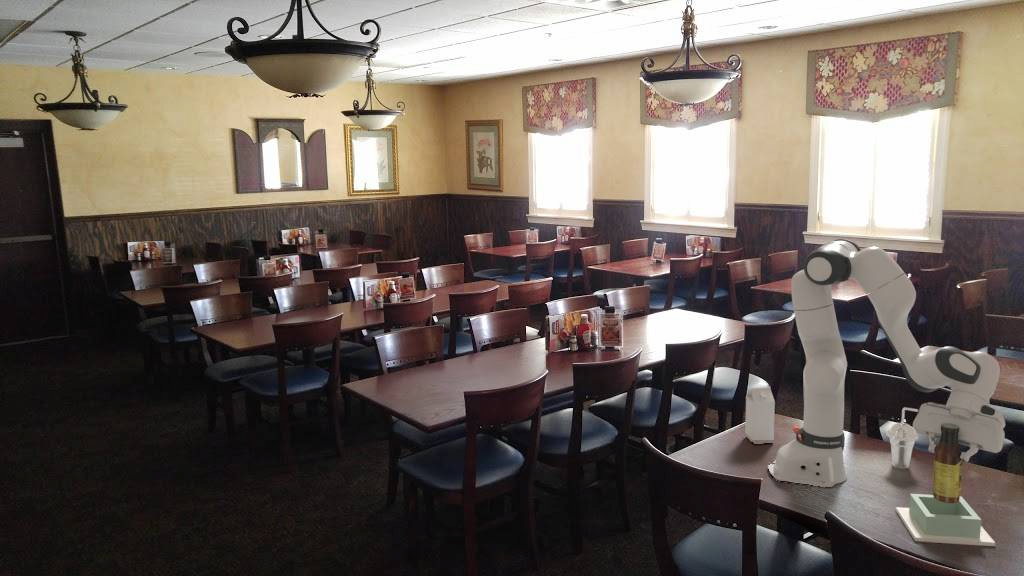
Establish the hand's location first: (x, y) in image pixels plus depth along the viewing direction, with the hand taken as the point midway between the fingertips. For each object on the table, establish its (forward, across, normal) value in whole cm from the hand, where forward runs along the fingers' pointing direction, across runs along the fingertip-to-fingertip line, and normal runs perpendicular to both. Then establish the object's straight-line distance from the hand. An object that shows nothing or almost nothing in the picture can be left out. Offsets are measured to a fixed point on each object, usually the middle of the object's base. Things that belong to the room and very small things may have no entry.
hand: (947, 455), depth 184 cm
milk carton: (+2, -65, +26) cm, 70 cm away
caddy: (+14, 0, +14) cm, 20 cm away
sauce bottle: (+8, 0, +9) cm, 12 cm away
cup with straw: (-7, -24, +36) cm, 43 cm away
